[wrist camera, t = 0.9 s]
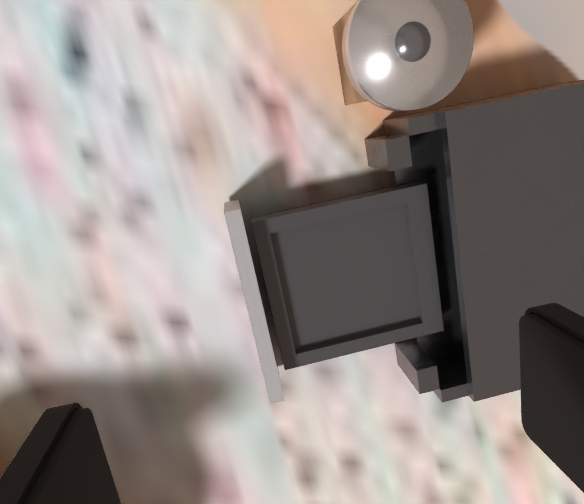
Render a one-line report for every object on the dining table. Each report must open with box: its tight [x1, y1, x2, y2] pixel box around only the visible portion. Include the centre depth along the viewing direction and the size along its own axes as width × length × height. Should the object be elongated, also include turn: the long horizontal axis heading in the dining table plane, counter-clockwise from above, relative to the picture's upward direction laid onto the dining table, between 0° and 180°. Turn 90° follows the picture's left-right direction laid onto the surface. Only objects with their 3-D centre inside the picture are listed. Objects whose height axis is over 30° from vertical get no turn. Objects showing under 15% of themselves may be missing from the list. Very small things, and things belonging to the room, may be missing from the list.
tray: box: [224, 181, 444, 404], centre depth 32 cm, size 14×14×4 cm
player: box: [365, 80, 584, 402], centre depth 33 cm, size 20×15×5 cm
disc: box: [342, 0, 474, 111], centre depth 26 cm, size 7×7×2 cm
